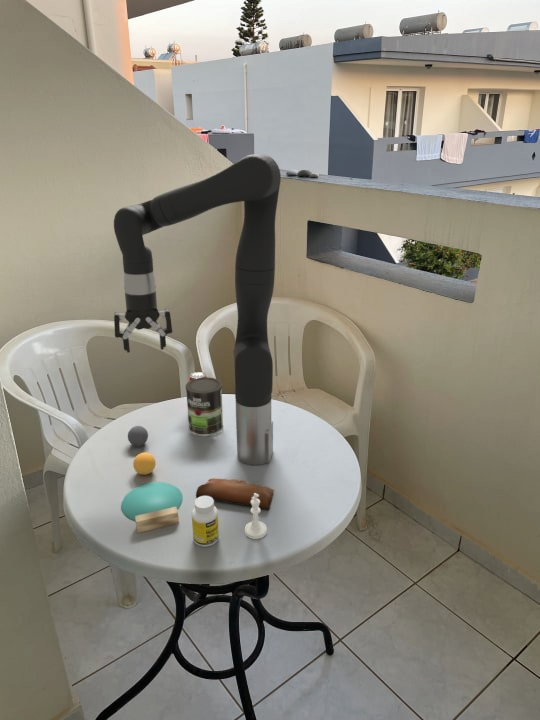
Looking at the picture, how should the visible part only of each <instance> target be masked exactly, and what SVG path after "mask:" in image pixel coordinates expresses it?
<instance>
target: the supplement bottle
mask: <svg viewBox="0 0 540 720" xmlns="http://www.w3.org/2000/svg"><path fill="white" fill-rule="evenodd" d="M191 521H192V526H191V527H192V536H193V542H194V544H196V545H197V546H199V547H203V548H204V547H205V548H206V547H211V546H213V545H215V544H216V543H217V542H218V540H219V538H220V537H219V512H218V508H217V507H216V506H215V500H213V498H212V497H210V496H201V497H198V498H196V499H195V500H194V508H193V509H192V511H191Z"/></svg>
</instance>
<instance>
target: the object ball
mask: <svg viewBox="0 0 540 720" xmlns="http://www.w3.org/2000/svg"><path fill="white" fill-rule="evenodd" d="M132 464H133V468H134V471H135V472H136V473H137V474H139V475H144V476H145V475H149V474H151V473H152V472H153V471H154V470H155V467H156V458H155V457H154V456H153V454H151V453H150V452H141V453H139V454H137V456H135V458H134V459H133V463H132Z"/></svg>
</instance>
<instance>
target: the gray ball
mask: <svg viewBox="0 0 540 720" xmlns="http://www.w3.org/2000/svg"><path fill="white" fill-rule="evenodd" d="M148 438H149V432H148V429H146V428H145V427H143V426H141V425H135V426H133V427H131V428H130V429H129V431H128V432H127V440H128V442H129V444H131V445H132V446H135V447H139V446H143V445H144V444H146V443H147V441H148Z"/></svg>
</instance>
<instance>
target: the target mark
mask: <svg viewBox="0 0 540 720" xmlns="http://www.w3.org/2000/svg"><path fill="white" fill-rule="evenodd" d="M182 502H183V493H182V492H181V490H180V489H179V488H178V487H177V486H176V485H174V484H171V483H167V482H160V481H157V482H156V481H154V482H149V483H148V482H147V483H144V484H141V485H139V486H136V487H135V488H133V489H131V490H129V492H128V493H127V494H126V495H125V496H124V497H123V499H122V501H121V510H122V513H123V514H124V516H126V518H129V520H132V521H135V522H136V519H135V516H138V515H142V514H146V513H151V512H155V511H159V510H164V509H168V508H172V507H177V510H178V509H180V506H181V505H182Z"/></svg>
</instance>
